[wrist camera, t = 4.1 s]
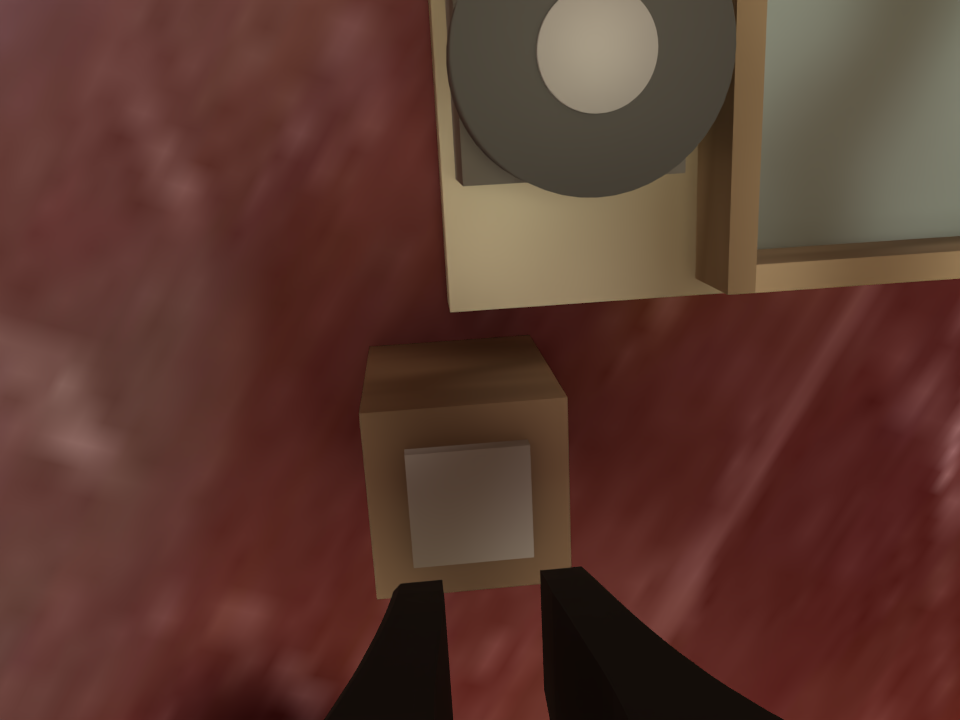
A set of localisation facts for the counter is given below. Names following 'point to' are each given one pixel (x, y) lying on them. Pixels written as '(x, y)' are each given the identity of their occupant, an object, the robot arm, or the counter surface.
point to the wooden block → (465, 464)
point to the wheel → (589, 86)
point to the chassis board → (740, 174)
